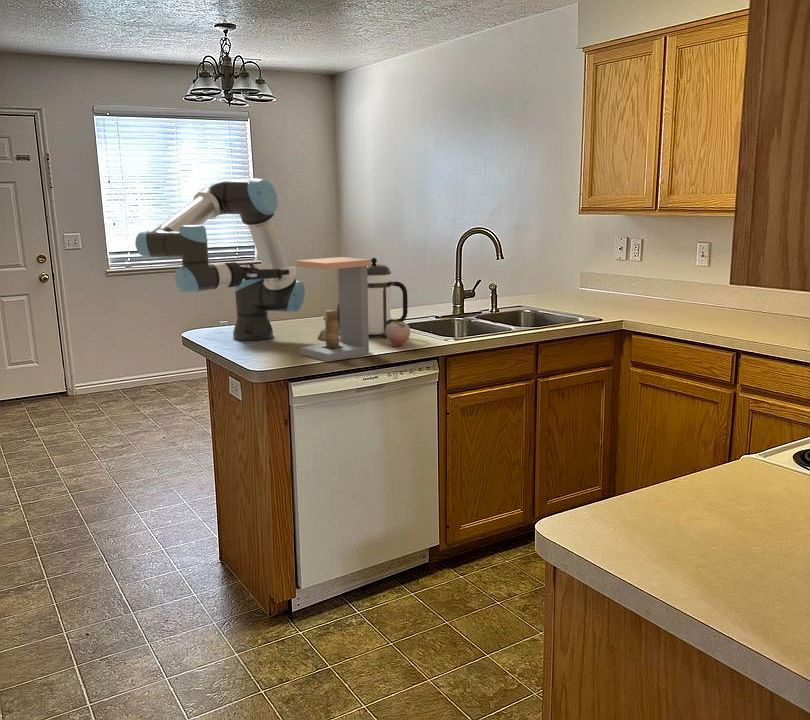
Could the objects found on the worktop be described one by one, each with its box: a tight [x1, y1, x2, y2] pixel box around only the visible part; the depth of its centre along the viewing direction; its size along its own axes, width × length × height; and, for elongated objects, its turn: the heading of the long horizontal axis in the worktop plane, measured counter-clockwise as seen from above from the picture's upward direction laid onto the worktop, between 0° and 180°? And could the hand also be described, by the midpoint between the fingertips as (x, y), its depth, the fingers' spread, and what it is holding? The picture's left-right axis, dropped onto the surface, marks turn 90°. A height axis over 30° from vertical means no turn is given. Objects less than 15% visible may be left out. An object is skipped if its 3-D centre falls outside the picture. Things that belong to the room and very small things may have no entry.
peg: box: [324, 309, 340, 350], centre depth 253 cm, size 4×4×15 cm
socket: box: [295, 256, 372, 362], centre depth 252 cm, size 16×19×32 cm
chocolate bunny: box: [317, 316, 340, 341], centre depth 280 cm, size 6×8×10 cm
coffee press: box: [367, 257, 409, 339], centre depth 284 cm, size 17×16×30 cm
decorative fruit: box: [385, 318, 411, 347], centre depth 267 cm, size 9×8×10 cm
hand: (283, 269), depth 242 cm, fingers open, 13 cm apart
